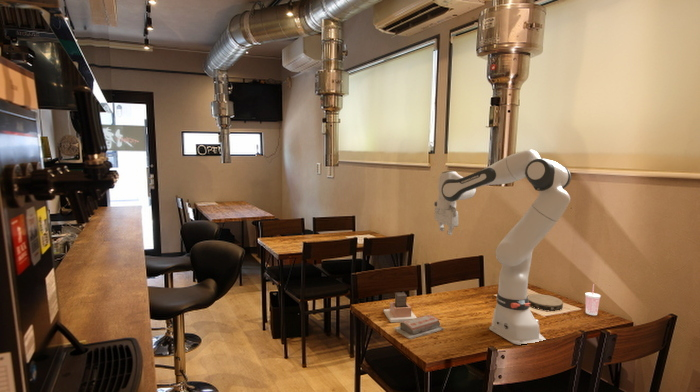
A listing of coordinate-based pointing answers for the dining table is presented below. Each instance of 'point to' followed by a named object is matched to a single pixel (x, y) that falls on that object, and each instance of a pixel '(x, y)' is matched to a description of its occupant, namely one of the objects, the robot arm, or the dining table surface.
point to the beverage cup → (592, 302)
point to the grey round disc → (545, 302)
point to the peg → (400, 300)
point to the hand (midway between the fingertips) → (445, 232)
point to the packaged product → (419, 326)
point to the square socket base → (399, 313)
